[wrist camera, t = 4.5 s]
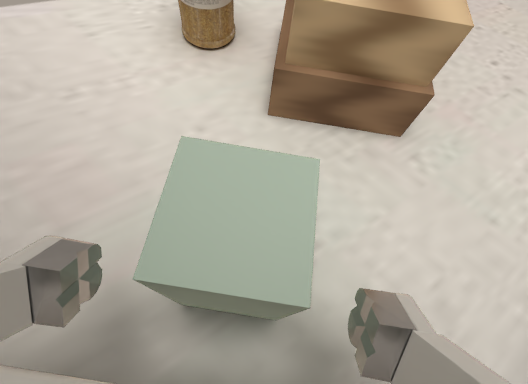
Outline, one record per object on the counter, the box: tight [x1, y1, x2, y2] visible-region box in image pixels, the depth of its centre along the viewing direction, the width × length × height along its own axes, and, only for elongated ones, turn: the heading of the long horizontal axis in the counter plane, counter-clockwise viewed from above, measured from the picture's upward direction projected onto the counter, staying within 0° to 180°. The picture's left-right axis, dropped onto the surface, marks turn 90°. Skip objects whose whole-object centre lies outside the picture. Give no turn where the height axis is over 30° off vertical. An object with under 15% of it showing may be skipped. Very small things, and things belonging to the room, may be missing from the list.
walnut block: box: [268, 0, 434, 137], centre depth 22 cm, size 10×10×4 cm
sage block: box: [133, 136, 320, 320], centre depth 13 cm, size 5×5×8 cm
